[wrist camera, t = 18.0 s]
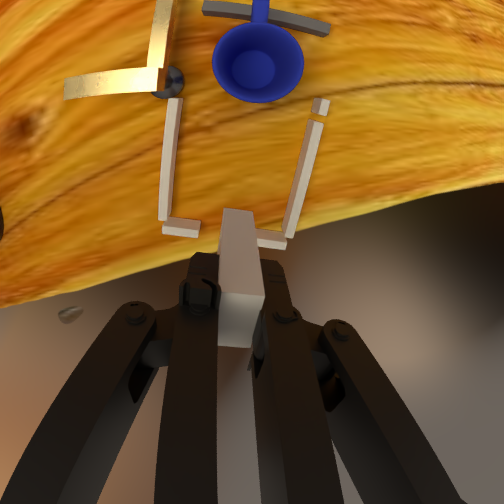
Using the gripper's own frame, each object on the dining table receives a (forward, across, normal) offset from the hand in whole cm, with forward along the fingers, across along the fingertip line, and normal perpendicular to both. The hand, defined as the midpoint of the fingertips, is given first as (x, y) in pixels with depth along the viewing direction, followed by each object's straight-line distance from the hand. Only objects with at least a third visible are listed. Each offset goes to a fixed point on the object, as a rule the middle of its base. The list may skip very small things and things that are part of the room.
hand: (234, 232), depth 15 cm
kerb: (+23, +1, +18) cm, 29 cm away
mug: (+23, 0, +13) cm, 26 cm away
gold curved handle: (+22, -14, +17) cm, 31 cm away
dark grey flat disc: (+23, -10, +8) cm, 26 cm away
